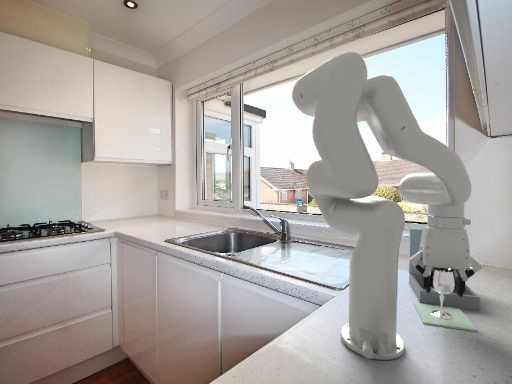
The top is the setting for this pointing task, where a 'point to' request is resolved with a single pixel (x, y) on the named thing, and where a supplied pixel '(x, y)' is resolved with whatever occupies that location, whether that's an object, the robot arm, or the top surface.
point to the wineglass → (442, 287)
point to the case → (452, 300)
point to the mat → (456, 322)
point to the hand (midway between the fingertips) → (442, 291)
